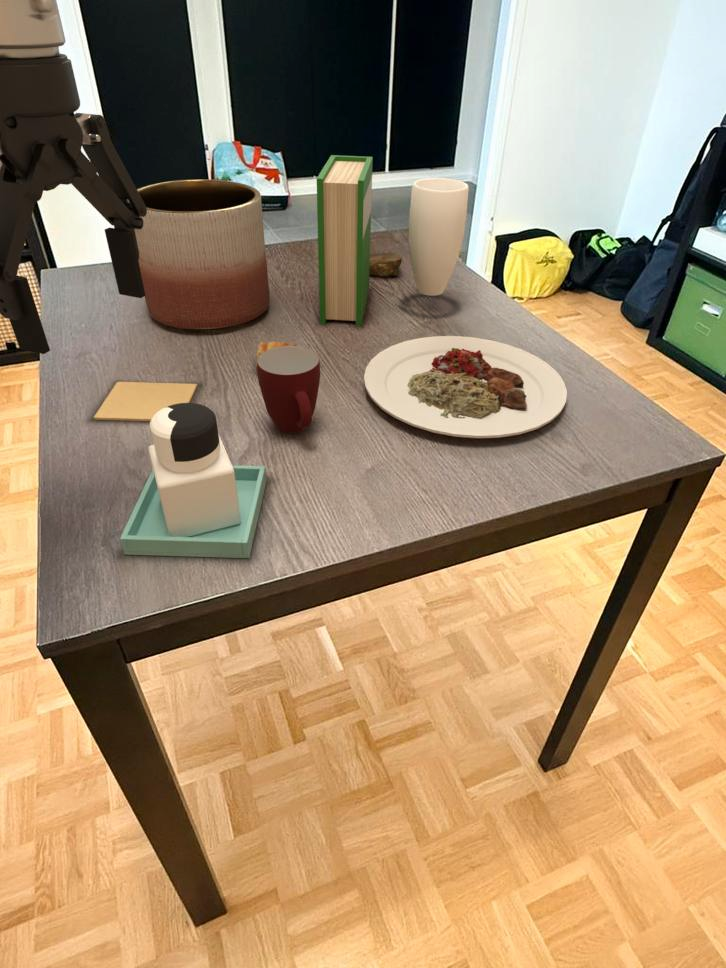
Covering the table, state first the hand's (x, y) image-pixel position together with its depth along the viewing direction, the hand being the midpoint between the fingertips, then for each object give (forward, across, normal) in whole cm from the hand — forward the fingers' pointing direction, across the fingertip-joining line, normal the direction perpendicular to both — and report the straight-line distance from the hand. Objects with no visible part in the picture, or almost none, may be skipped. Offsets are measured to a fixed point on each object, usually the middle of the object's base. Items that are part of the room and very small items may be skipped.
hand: (87, 320), depth 60 cm
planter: (+22, +50, +21) cm, 58 cm away
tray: (+22, 0, -9) cm, 24 cm away
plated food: (+22, +39, -30) cm, 54 cm away
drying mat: (+22, +18, +11) cm, 30 cm away
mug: (+22, +20, -11) cm, 32 cm away
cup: (+22, +68, -16) cm, 74 cm away
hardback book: (+22, +62, -2) cm, 66 cm away
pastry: (+22, +35, -2) cm, 42 cm away
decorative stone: (+22, +83, 0) cm, 86 cm away
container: (+22, 0, -9) cm, 23 cm away
